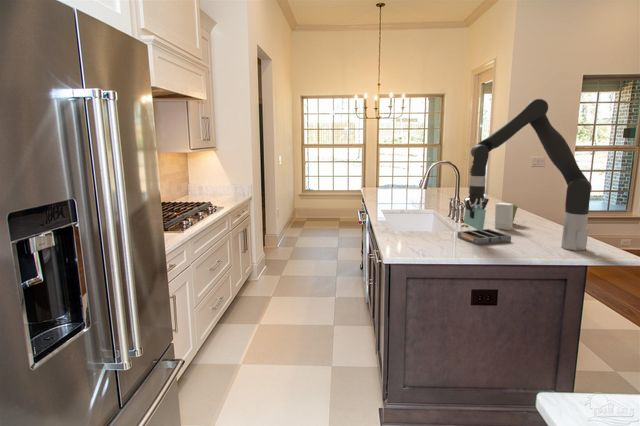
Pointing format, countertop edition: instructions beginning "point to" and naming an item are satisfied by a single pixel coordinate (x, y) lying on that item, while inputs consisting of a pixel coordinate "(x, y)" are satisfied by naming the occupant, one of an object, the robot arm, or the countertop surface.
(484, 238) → the rack
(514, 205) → the plant pot
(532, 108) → the robot arm
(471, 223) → the panel
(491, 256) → the countertop surface
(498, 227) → the skincare box
